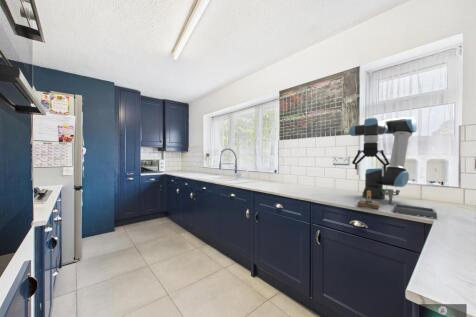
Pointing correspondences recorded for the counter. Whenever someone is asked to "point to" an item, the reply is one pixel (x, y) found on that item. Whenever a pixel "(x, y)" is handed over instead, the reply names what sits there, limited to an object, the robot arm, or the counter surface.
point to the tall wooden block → (369, 196)
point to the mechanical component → (390, 193)
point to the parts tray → (415, 210)
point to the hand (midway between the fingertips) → (369, 175)
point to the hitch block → (368, 204)
